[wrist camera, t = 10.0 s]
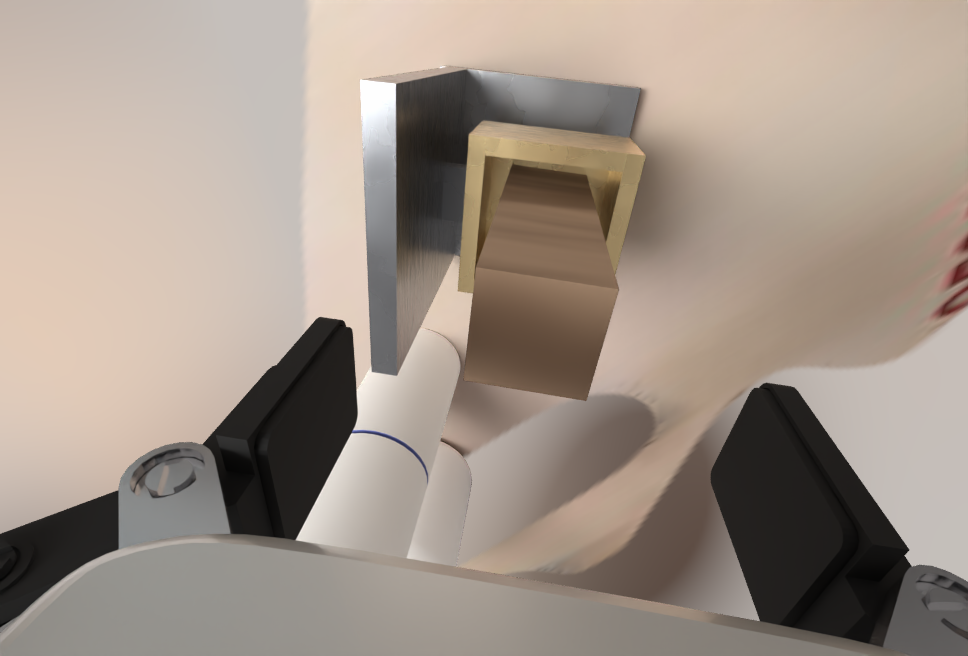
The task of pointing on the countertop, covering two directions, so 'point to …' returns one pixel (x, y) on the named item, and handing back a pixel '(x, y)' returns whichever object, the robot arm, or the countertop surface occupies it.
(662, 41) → the countertop surface
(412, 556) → the wine bottle
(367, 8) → the countertop surface
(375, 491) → the cylindrical container
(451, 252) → the cup bracket
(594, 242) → the rail post
